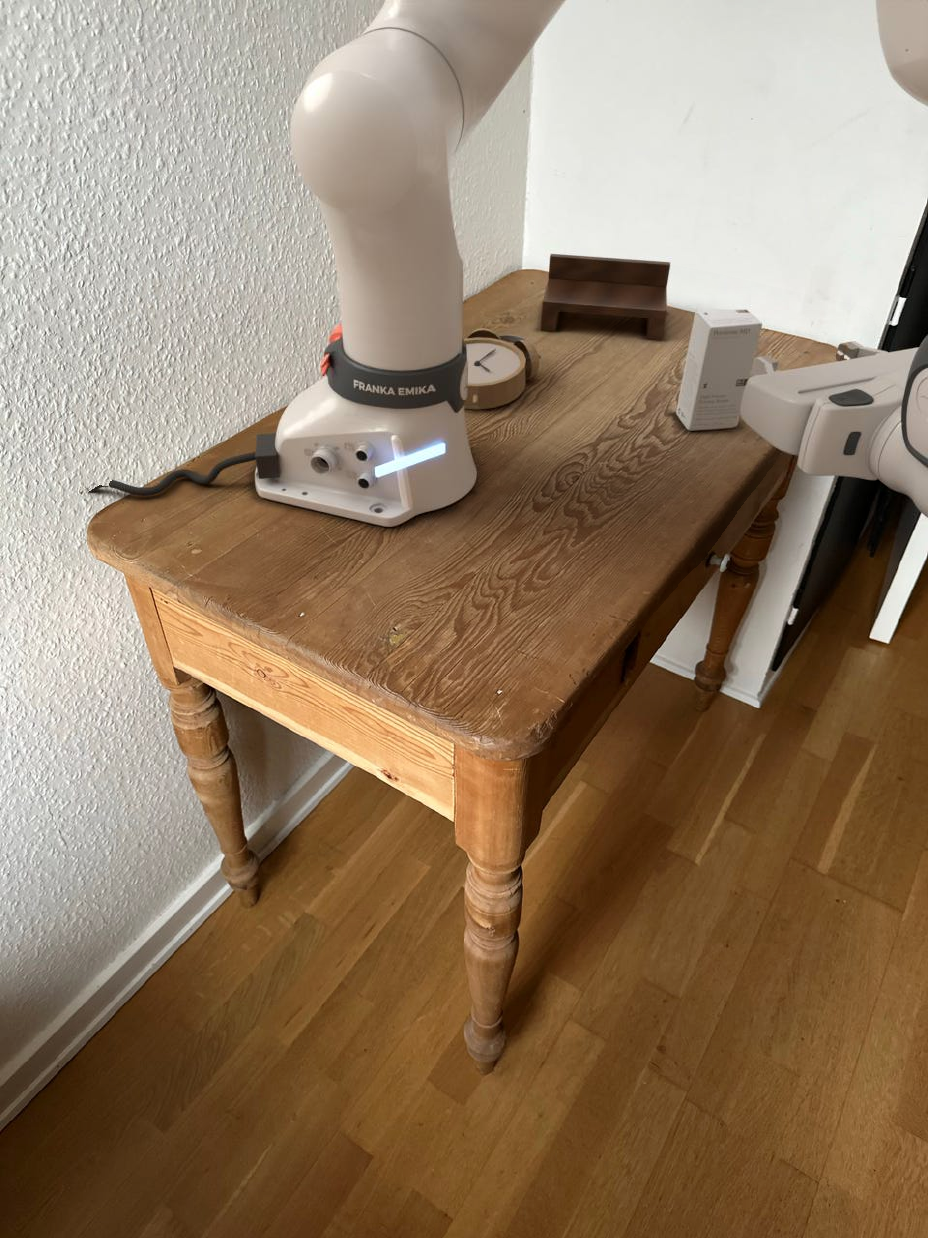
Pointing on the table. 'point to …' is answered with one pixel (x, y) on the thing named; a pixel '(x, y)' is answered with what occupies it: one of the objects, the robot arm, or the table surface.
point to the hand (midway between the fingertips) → (801, 356)
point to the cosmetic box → (717, 368)
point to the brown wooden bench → (606, 290)
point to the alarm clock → (497, 368)
